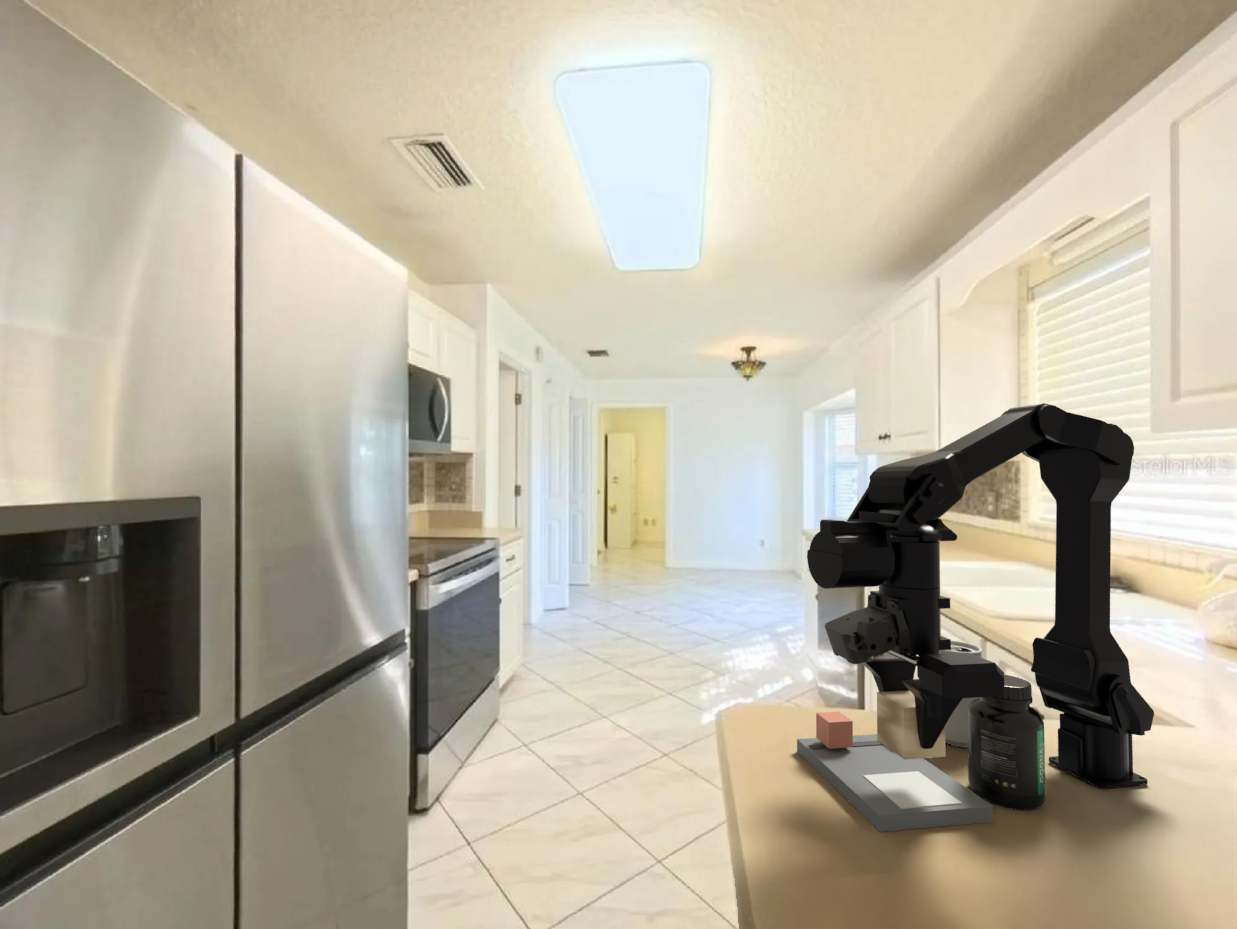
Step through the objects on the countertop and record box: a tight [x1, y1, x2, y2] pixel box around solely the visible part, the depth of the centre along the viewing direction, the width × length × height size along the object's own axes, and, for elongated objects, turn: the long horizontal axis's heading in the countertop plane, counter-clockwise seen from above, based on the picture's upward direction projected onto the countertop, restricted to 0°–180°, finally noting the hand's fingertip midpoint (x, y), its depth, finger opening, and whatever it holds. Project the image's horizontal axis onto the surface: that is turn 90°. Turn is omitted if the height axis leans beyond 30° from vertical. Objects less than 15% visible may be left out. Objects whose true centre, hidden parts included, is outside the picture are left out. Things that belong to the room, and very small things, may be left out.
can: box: [938, 640, 986, 748], centre depth 77 cm, size 8×8×12 cm
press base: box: [796, 733, 994, 833], centre depth 65 cm, size 12×17×4 cm
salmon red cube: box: [815, 711, 854, 749], centre depth 70 cm, size 3×3×3 cm
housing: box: [876, 690, 947, 760], centre depth 61 cm, size 4×4×5 cm
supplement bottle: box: [967, 674, 1046, 811], centre depth 63 cm, size 7×7×12 cm
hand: (910, 737), depth 61 cm, fingers closed on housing, 4 cm apart
